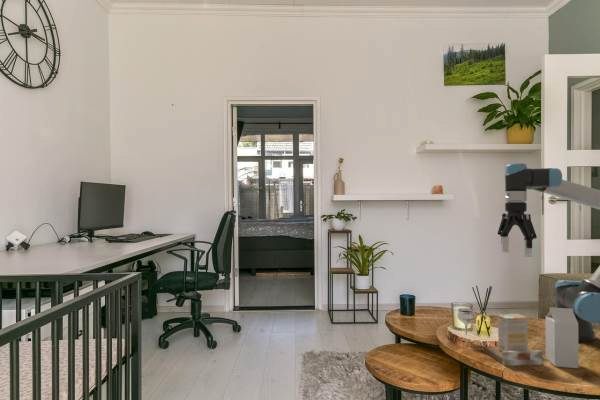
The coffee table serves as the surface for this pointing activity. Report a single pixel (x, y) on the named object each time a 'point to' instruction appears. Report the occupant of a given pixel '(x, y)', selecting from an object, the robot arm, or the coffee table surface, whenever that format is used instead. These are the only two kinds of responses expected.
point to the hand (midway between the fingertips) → (515, 254)
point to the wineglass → (466, 316)
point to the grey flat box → (515, 356)
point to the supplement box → (512, 332)
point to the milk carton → (562, 338)
